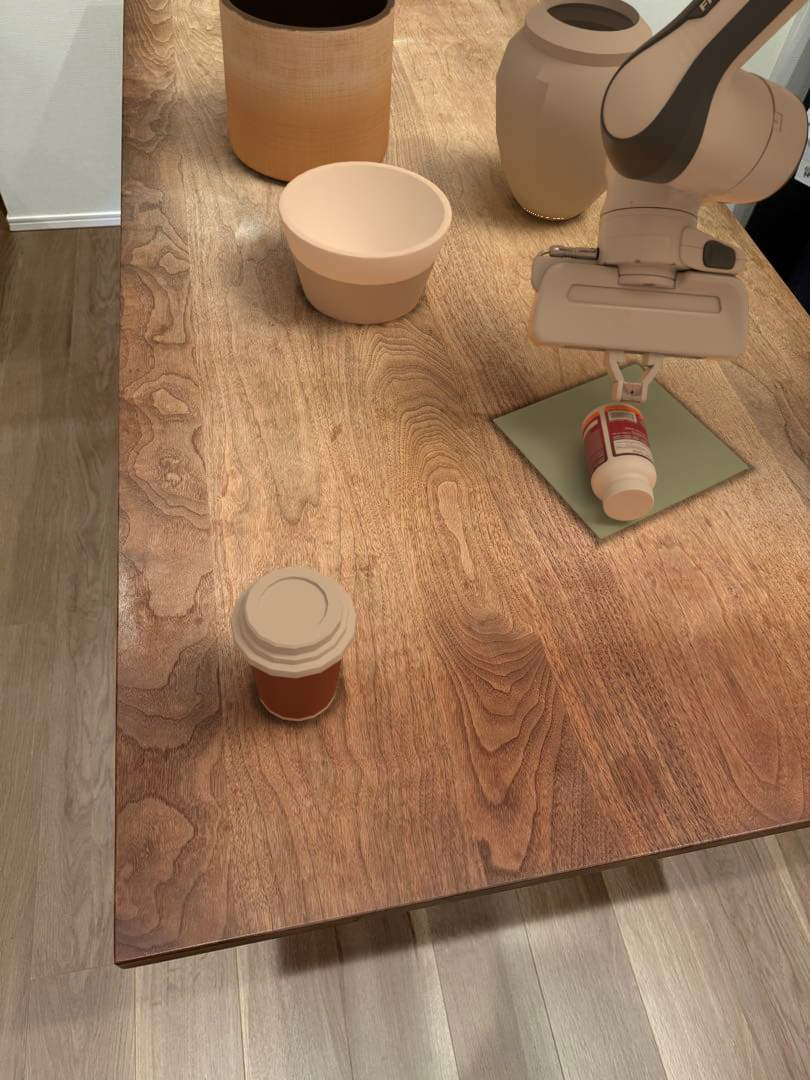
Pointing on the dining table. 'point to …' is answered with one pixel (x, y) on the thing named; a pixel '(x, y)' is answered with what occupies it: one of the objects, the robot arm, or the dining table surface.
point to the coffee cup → (294, 638)
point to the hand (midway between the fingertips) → (628, 402)
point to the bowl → (364, 237)
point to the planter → (307, 82)
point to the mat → (673, 432)
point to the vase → (561, 101)
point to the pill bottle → (619, 460)
